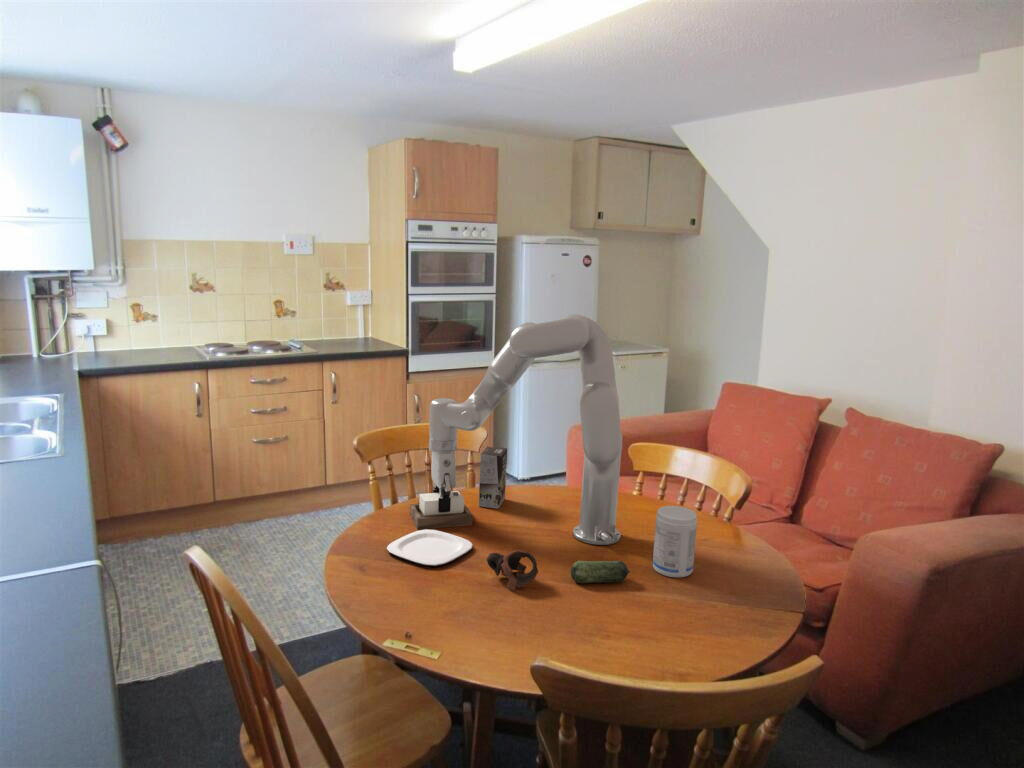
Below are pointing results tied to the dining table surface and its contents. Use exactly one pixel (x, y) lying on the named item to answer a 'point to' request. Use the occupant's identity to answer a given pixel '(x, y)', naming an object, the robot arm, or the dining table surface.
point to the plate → (430, 547)
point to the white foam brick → (430, 501)
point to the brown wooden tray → (439, 518)
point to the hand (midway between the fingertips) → (441, 506)
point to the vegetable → (599, 571)
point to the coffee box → (492, 477)
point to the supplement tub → (674, 541)
